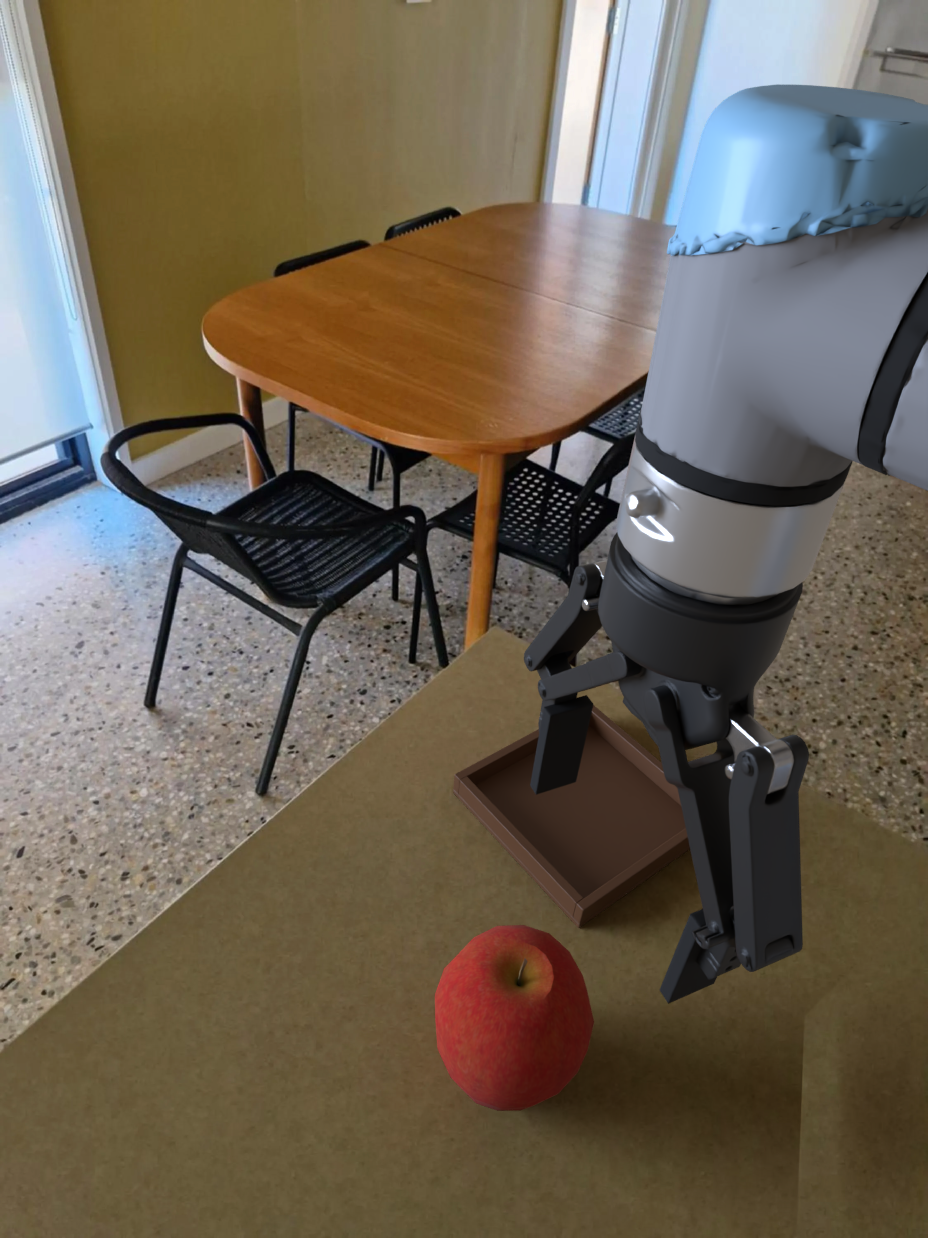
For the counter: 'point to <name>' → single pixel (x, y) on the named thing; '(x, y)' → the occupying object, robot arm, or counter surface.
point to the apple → (512, 1018)
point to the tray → (581, 818)
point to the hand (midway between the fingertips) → (613, 876)
